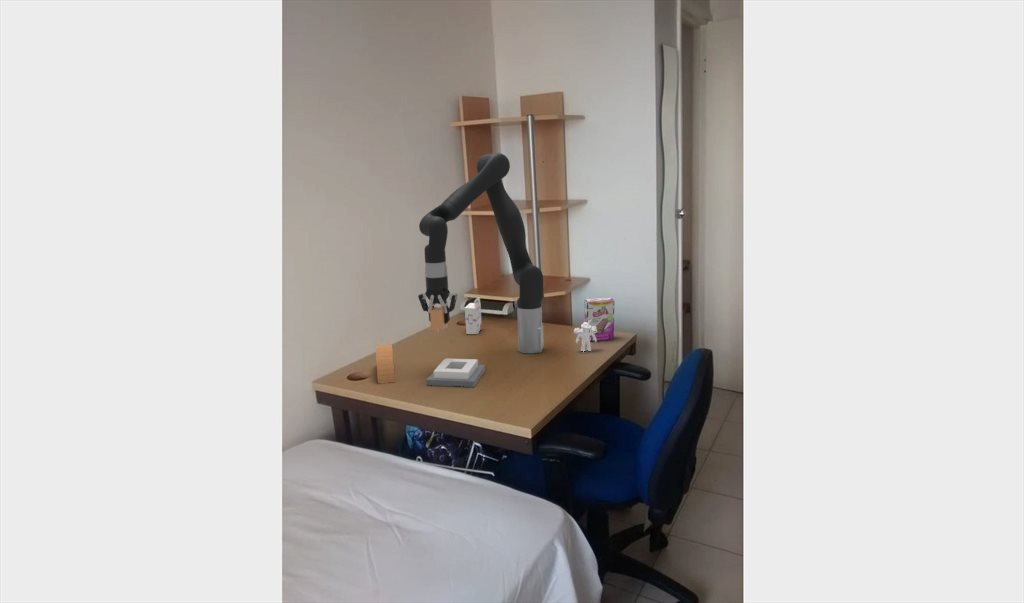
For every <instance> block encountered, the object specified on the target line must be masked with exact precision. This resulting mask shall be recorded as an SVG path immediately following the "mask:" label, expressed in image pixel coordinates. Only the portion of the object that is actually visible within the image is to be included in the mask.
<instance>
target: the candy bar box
mask: <svg viewBox="0 0 1024 603" xmlns="http://www.w3.org/2000/svg"><path fill="white" fill-rule="evenodd" d="M583 303H584V313H583V314H584V315H583V316H584V317H583V318H584V320H583V323H584V322H587V323H588V322H589V321H590V320H591V319H592V321H591V322H590V323H588V324H589V325H590V326H591V328H592V326H596V327H595V328H597V332H596V331H593V332H596V333H594V335H595V337H596V339H597V341H596V342H601V341H614V339H615V338H614V337H615V336H614V334H615V333H614V330H615V299H613V298H612V297H603V298H602V297H600V298H585V299H584V301H583ZM591 328H590V329H591ZM590 342H595V340H593V337H592V335H590Z"/></svg>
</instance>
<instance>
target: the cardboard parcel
mask: <svg viewBox="0 0 1024 603" xmlns="http://www.w3.org/2000/svg"><path fill="white" fill-rule="evenodd" d="M430 320H431V322H430V330H431V331H436V332H437V333H440V331H444V330H447V329H448V327H449V322H448V323H447V324H445V323H444V309H443V308H442V306H441V305H440V306H439V305H435V306H434V308H432V309H431V310H430Z"/></svg>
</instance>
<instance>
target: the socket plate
mask: <svg viewBox="0 0 1024 603" xmlns="http://www.w3.org/2000/svg"><path fill="white" fill-rule="evenodd" d="M485 372H486V365H485V364H479V359H475V358H473V359H471V358H470V359H469V358H447V357H446V358H444V359H443V360H442V362H440V364H438V365H437V367H435V369H434V370H433V372H432V373H431V374H430V376H428V378H426V386H430V385H432V386H434V387H454V386H461V387H460V388H475V386H476V385H477V383H478V382H479V381H480V379H481V378H480V377H482V376H483V375H484V373H485ZM482 374H483V375H482ZM463 386H464V387H463Z"/></svg>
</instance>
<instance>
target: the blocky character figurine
mask: <svg viewBox="0 0 1024 603" xmlns="http://www.w3.org/2000/svg"><path fill="white" fill-rule="evenodd" d="M591 321H592V319H591V320H590V321H589V322H588V323H590V322H591ZM588 323H587V322H584V321H583V323H581V325H580V327H581V328H580V327H577V328H576V327H575V328H574V329H573V334H574V335H576V339H575V343H576V344H579V343H578V342H580V341H581V347H580V352H581V351H583V352H582V353H585V352H584V351H586V350H588V351H591V350H592V348H591V347H592V344H591V341H590V335H592V337H593V340H595V341H594V343H597V342H598V341H597V339H596V337H595V335H594V333H596V332H597V328H595V327H596V326H592V328H591V326H590V325H589V324H588ZM590 328H591V329H590ZM593 331H596V332H593ZM580 338H581V340H580ZM588 351H587V352H588ZM591 352H592V351H591Z"/></svg>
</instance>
